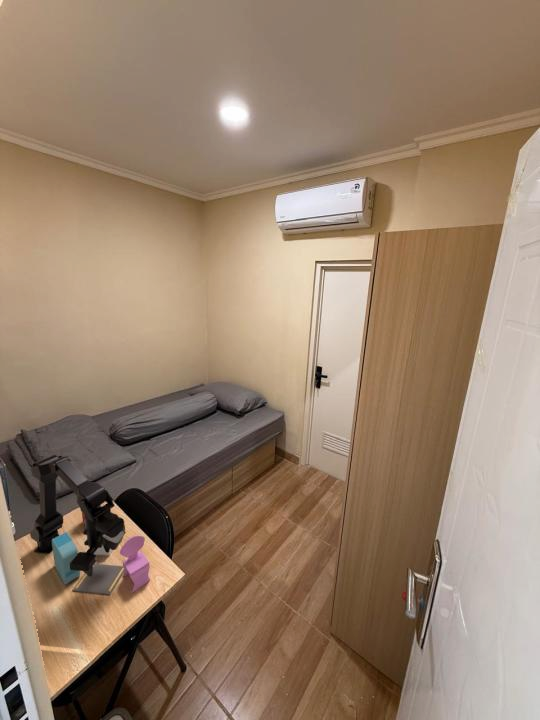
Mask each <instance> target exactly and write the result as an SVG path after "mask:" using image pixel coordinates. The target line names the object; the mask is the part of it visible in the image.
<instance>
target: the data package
mask: <svg viewBox="0 0 540 720" xmlns="http://www.w3.org/2000/svg"><path fill="white" fill-rule="evenodd" d="M52 548H53V551H52V554H53V562H54V567H55V570H57V573H58V574H59V576H60V579H61V580H62V583H63V584H64V585H67V584H68V583H70V582H72V581H73V580H75V579H76V578H78V577H80V576H81V571H77V570H70V564H69V563H70V562H71V561H72V559H73V558H74V557H75V556H76V555H77V554H78V553H79V551H78V547H77V546H76V544H75V542H74V541H73V540H72V538H71V536H70V534H69V533H68V531H67V532H63V533H62V534H59V536H58V537H56V538H54V539H52Z"/></svg>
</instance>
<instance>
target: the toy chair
mask: <svg viewBox="0 0 540 720" xmlns="http://www.w3.org/2000/svg"><path fill="white" fill-rule="evenodd" d="M145 541H146V538H145V536H143V535H134V536H131V537H129V538H128V539H127V540H126V541H125V542H124V544H123V545H122V546H121V548H120V550H119V555H121V556H122V557H124V558H127V559H125V560H123V561H122V566H124V567H125V571H124V573H123V575H122V577H125V576H127V575H129V577H130V579H131V580H132V582H133V588H132V589H131V593H134V592H136V591H137V590H138V589H140V588H141V587H142V586H144V585H145V584H147V583H148V582H150V581H151V578H150V576H149V571H150V566H151V565H150V561H149V559H148V558H147V557H146V556H145V554H144V553H143V551H142V550H141V549H142V548H143V546H144V544H145Z"/></svg>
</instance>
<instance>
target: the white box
mask: <svg viewBox="0 0 540 720" xmlns="http://www.w3.org/2000/svg"><path fill="white" fill-rule="evenodd" d="M113 552H114V550H111V549H110V551H109V553H107V552H106V551H105V549H104V547H103V546H102V547H101V548H98V550H97V551H96V552H95V554H94V555H96V556H97V555H98V556H105V557H107V556H108V557H111V554H112V553H113Z"/></svg>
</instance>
